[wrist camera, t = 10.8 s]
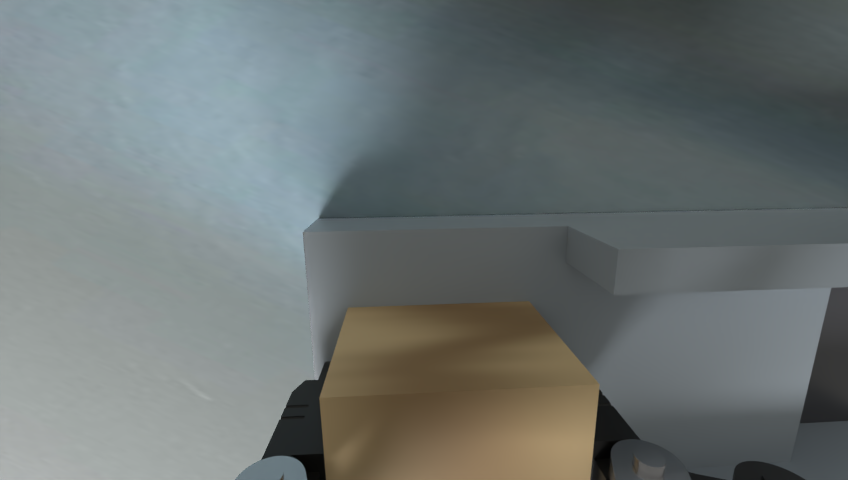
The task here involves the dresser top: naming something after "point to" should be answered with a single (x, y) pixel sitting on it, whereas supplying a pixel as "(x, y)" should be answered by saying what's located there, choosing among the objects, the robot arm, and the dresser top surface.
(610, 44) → the dresser top surface
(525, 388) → the oak block
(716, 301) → the grey angular piece
